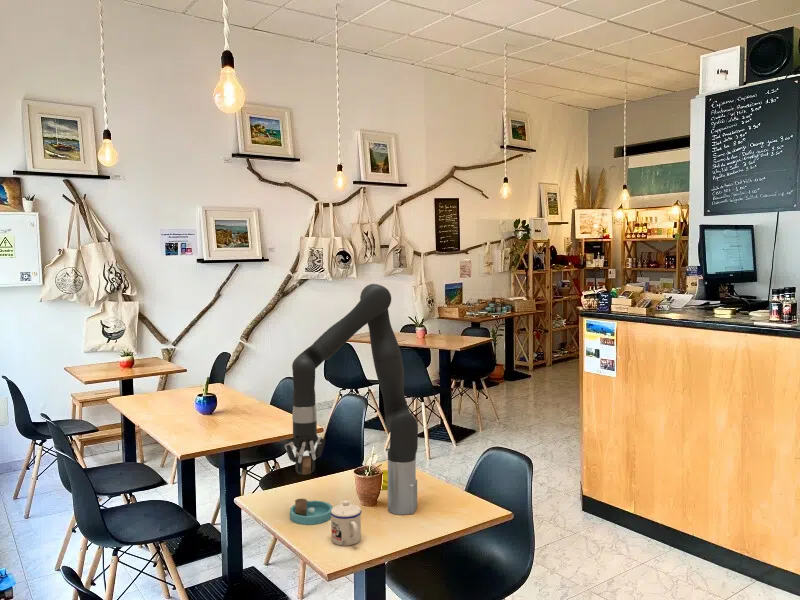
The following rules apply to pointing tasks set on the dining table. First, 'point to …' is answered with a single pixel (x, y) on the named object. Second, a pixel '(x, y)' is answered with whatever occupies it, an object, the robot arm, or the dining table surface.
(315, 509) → the groove tray
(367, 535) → the dining table surface
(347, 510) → the teacup with lid
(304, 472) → the walnut bead
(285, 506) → the dining table surface
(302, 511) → the walnut bead
